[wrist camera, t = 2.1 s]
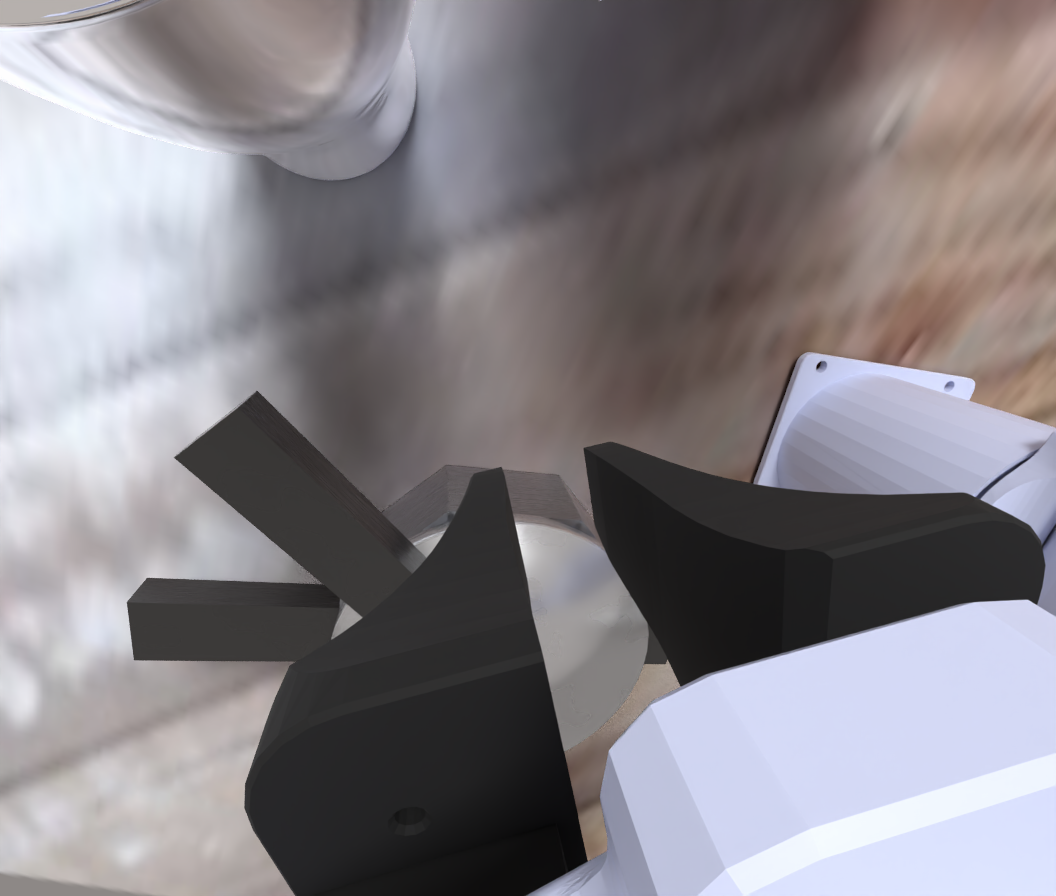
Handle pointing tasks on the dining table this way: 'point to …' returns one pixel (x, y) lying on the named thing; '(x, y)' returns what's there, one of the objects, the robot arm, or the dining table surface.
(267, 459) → the lid
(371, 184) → the dining table surface
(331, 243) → the dining table surface
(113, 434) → the dining table surface
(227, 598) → the pot
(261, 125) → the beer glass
